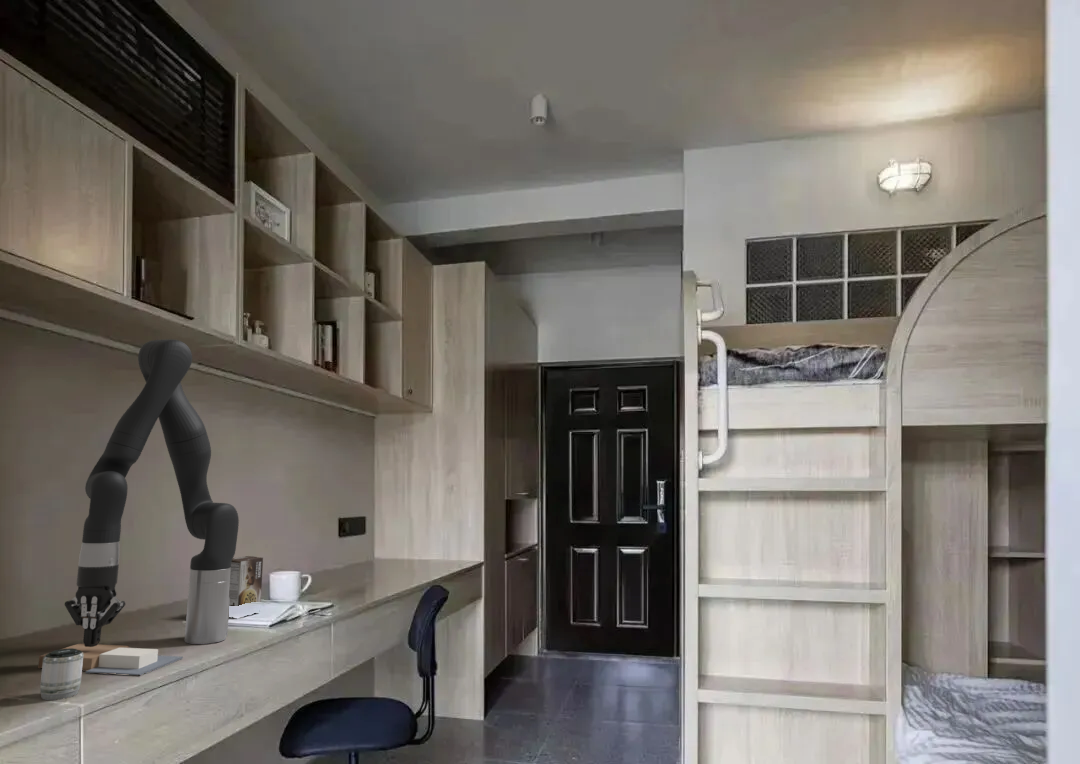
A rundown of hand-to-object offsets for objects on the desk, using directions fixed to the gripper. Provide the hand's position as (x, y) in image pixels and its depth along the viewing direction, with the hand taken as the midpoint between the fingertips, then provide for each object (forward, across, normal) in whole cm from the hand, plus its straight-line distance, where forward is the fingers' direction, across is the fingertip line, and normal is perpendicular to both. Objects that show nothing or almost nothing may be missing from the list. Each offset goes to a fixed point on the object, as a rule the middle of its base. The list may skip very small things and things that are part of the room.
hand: (91, 645), depth 152 cm
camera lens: (+4, -10, +20) cm, 23 cm away
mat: (+4, -11, 0) cm, 11 cm away
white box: (+3, -9, 0) cm, 10 cm away
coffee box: (+4, -4, -54) cm, 54 cm away
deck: (+4, +1, 0) cm, 4 cm away
